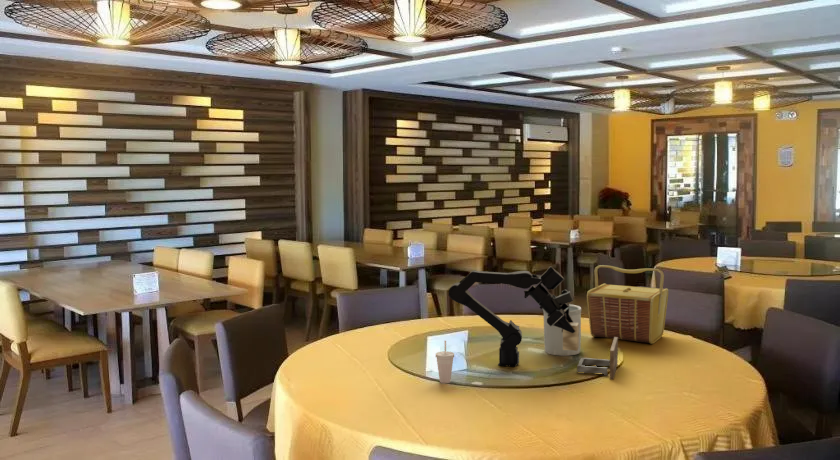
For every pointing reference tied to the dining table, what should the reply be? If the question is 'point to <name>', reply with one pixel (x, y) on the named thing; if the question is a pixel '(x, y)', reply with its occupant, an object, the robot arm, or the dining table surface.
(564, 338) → the cabinet block
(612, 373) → the grey frame stand
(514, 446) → the dining table surface
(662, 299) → the picnic basket
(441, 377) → the smoothie
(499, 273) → the robot arm
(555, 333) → the utensil holder
